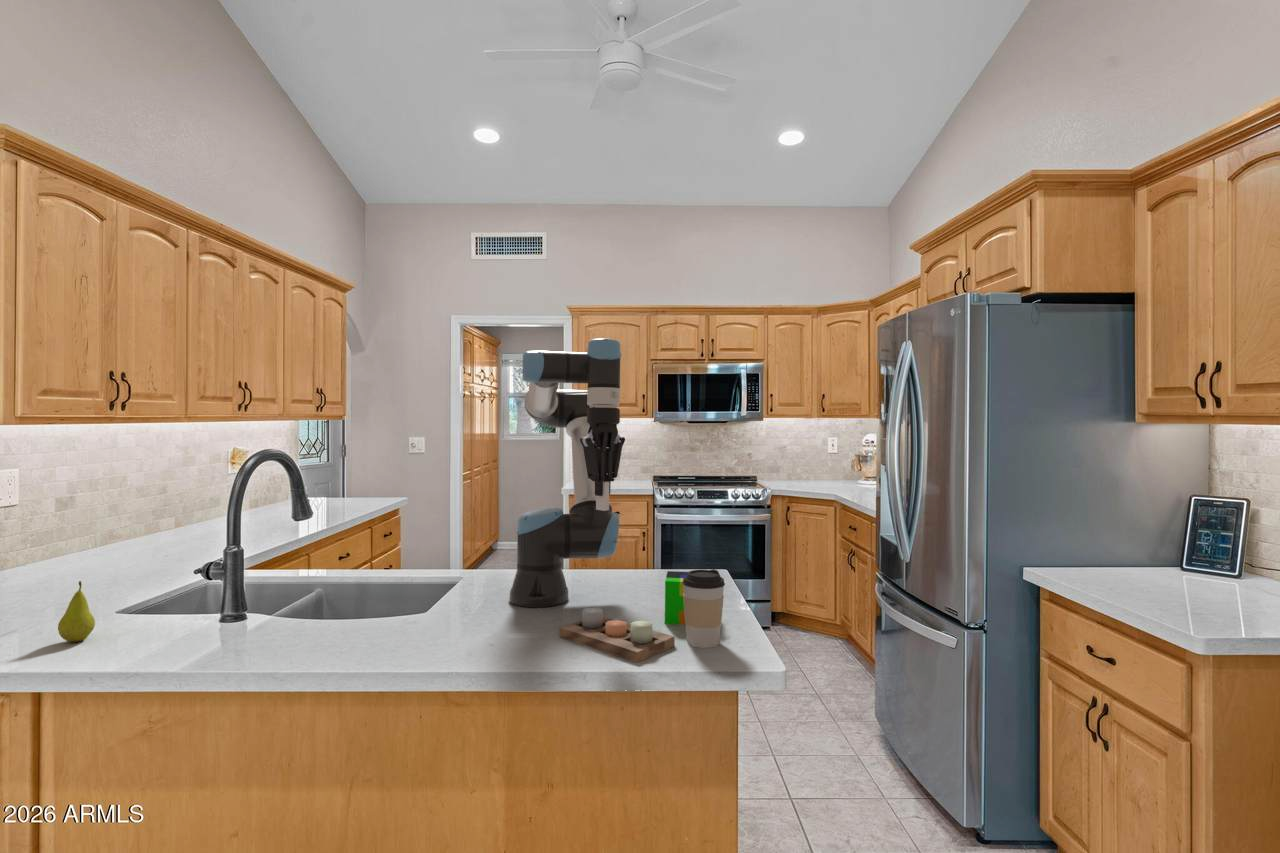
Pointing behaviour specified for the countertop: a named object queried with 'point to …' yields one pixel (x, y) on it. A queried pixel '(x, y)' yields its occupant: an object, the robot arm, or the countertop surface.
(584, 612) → the button grey
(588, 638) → the button board
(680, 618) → the puzzle toy
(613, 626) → the button terracotta
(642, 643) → the button sage
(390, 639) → the countertop surface
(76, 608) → the fruit
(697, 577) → the coffee cup
